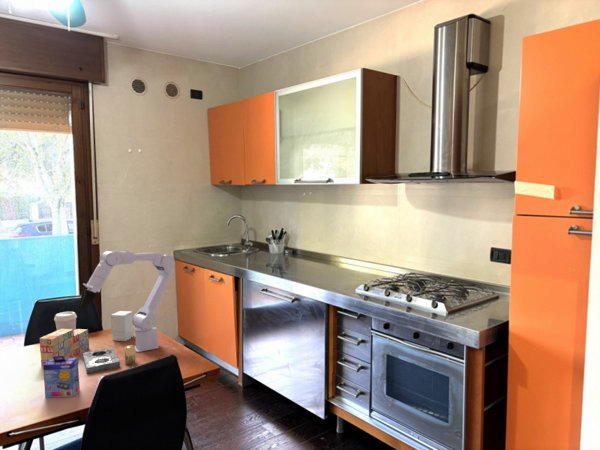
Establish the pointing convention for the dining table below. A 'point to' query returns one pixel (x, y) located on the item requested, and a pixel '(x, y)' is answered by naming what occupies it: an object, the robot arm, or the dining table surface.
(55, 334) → the stack of blocks
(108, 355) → the plate
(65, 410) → the dining table surface
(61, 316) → the coffee cup
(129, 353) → the gold rounded cylinder
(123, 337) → the supplement box
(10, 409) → the dining table surface
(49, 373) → the ink cartridge box
